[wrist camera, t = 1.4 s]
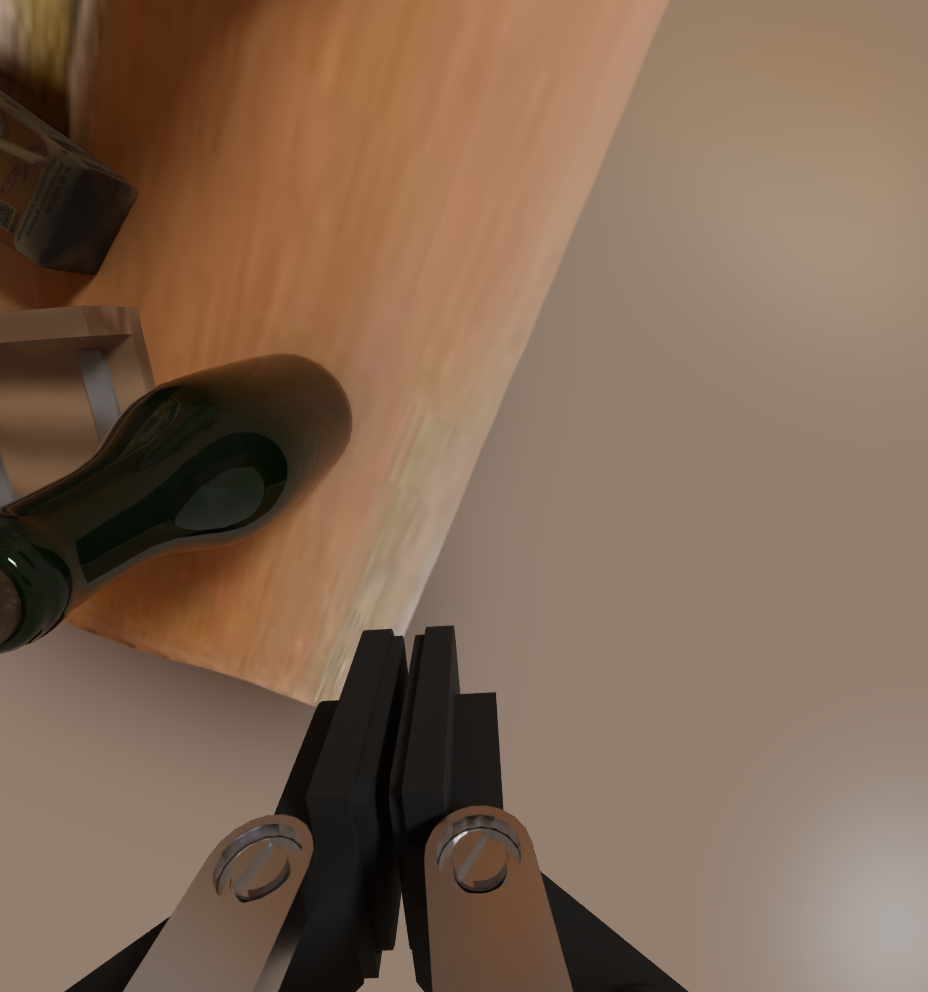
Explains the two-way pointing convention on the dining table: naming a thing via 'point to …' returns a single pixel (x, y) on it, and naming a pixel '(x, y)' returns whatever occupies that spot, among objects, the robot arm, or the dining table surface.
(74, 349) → the cradle
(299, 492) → the beer bottle
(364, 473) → the dining table surface
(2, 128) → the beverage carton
